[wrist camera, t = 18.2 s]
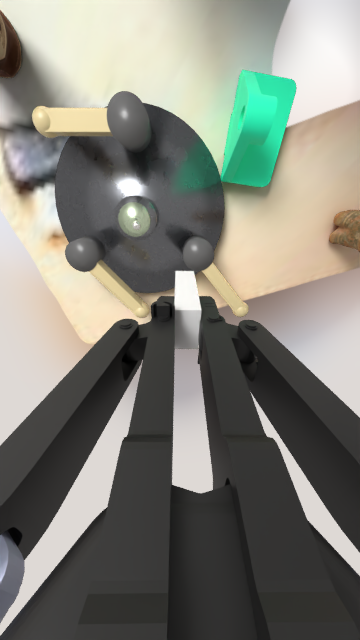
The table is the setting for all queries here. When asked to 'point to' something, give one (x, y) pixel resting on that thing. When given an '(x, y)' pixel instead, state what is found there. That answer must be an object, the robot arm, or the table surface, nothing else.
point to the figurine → (347, 229)
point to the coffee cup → (9, 49)
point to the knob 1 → (103, 272)
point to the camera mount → (256, 128)
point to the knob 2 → (211, 271)
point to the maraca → (99, 121)
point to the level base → (145, 176)
